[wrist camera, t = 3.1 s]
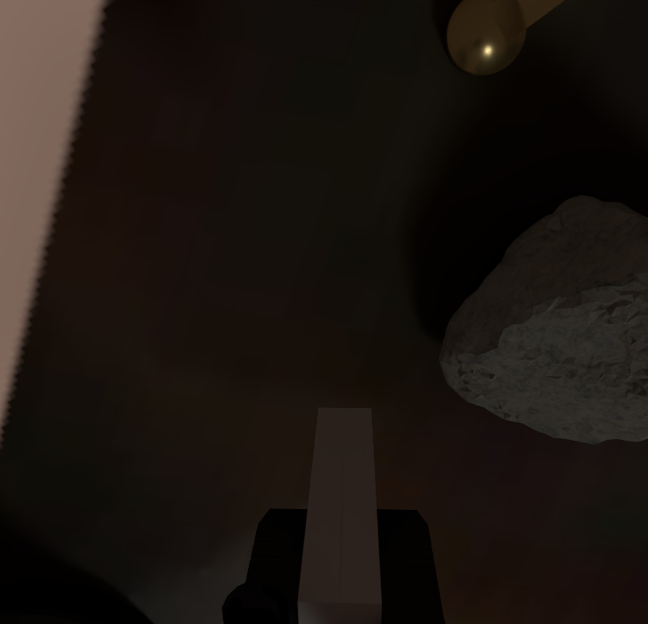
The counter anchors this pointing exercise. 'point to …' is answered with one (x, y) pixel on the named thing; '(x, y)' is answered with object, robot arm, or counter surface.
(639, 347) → the decorative stone
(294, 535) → the robot arm
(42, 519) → the counter surface
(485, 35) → the wooden spoon
